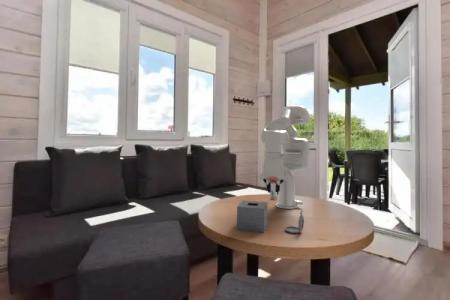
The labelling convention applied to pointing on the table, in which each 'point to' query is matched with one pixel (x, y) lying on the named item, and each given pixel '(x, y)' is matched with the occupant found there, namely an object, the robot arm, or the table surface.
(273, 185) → the lynch pin
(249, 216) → the block
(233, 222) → the table surface
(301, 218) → the pocket watch
